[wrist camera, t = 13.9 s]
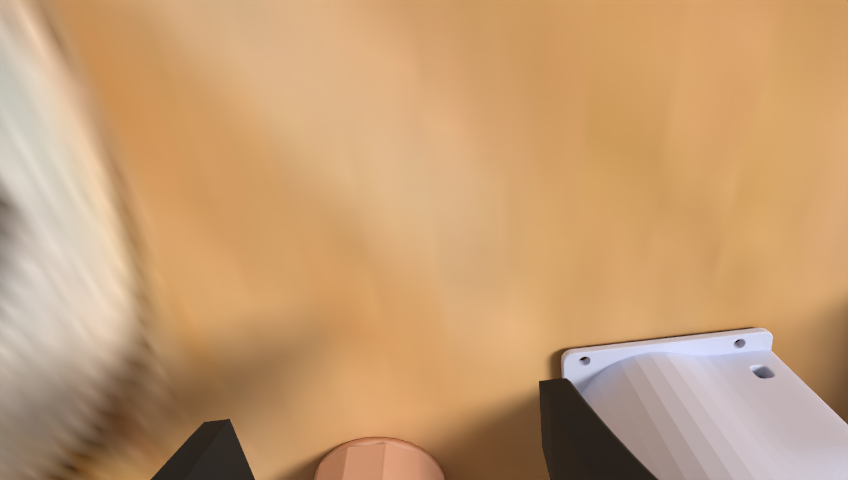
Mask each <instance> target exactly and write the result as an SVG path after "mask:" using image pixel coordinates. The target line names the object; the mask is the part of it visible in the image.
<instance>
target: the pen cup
mask: <svg viewBox="0 0 848 480" xmlns="http://www.w3.org/2000/svg"><path fill="white" fill-rule="evenodd" d="M314 480H445V477H444V473H443V471H442V469H441V467H440V465H439V464H438V463H437V461H436V460H435V459H434V458H433V457H432V456H431V455H430V454H428V453H427V452H426V451H424V450H423V449H421V448H420V447H418V446H416V445H413V444H411V443H408V442H405V441H402V440H398V439H393V438H386V437H371V438H363V439H357V440H354V441H350V442H348V443H345V444H342V445H341V446H339V447H337V448H335V449H334V450H332V451H331V452H329V453H328V454H327V455H326V456H325V457H324V458H323V460H322V461H321V462H320V464H319V466H318V467H317V470H316V473H315V477H314Z"/></svg>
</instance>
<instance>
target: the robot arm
mask: <svg viewBox="0 0 848 480" xmlns="http://www.w3.org/2000/svg"><path fill="white" fill-rule="evenodd" d="M739 339H740V340H739ZM737 340H739V341H738V342H737V343H735V341H737ZM772 342H773V336H772V334H771V333H770V332H769V331H768V330H767V329H764V328H753V329H744V330H735V331H726V332H717V333H709V334H700V335H691V336H682V337H673V338H665V339H656V340H647V341H638V342H629V343H621V344H612V345H603V346H594V347H585V348H577V349H570V350H567V351H565V352H564V353H563V355H562V357H561V375H562V378H561V379H553V380H545V381H539V390H540V411H541V431H542V447H543V451H544V455H545V459H546V464H547V468H548V472H549V476H550V480H848V424H847V423H846V422H844V421H843V420H842V419H841V418H840V417H839V416H838V415H837V414H836V413H835V412H834V411H833V410H832V409H831V408H830V407H829V406H828V405H827V404H826V403H825V402H824V401H823V400H822V399H821V398H820V397H819V396H818V395H817V394H815V393H814V392H813V391H812V390H811V389H810V388H809V387H808V386H807V385H806V384H805V383H804V382H803V381H802V380H801V379H800V378H799V377H798V376H797V375H796V374H795V373H794V372H793V371H792V370H791V369H790V368H789V367H788V366H787V365H785V364H784V363H783V362H782V361H781V360H780V359H779V358H778V357H777V356H776V355H775V354H774V353H773V352H772V351H771V347H772ZM582 357H587V358H586V359H585V360H580V359H581V358H582ZM151 480H255V479H254V476H253V474H252V472H251V469H250V467H249V464H248V462H247V460H246V457H245V455H244V452H243V450H242V448H241V445H240V443H239V440H238V438H237V436H236V433H235V431H234V428H233V426H232V424H231V421H230V419H226V420H218V421H210V422H204V423H203V424H202V425H201V426H200V427H199V428H198V429H197V430H196V431H195V432H194V433H193V434H192V435H191V436H190V438H189V439H188V440H187V441H186V442H185V443H184V444H183V445H182V446H181V447H180V448H179V449H178V451H177V452H176V453H175V454H174V455H173V456H172V457H171V458H170V459H169V460H168V461H167V463H166V464H165V465H164V466H163V467H162V468H161V469H160V470H159V471H158V472H157V473H156V474H155V476H154V477H153V478H152V479H151Z"/></svg>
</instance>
